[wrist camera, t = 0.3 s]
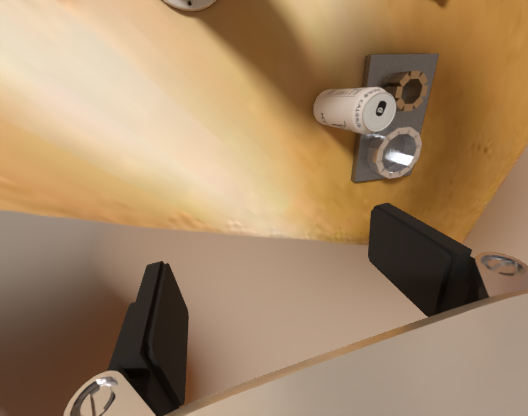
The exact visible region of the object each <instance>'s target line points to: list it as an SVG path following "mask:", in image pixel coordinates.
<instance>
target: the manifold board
mask: <svg viewBox="0 0 528 416" xmlns="http://www.w3.org/2000/svg"><path fill="white" fill-rule="evenodd" d="M438 56H439V54H382V55H368V56H366V59H365V68H364V76H363V84H362V88H366V87H379V88H382V89H384V90H385V91H386V92H387V93H389V94H391V95H392V96H393V97H394V99H395V102H396V112H395V116H394V118H393V120H392V122H391V123H390V124H389V125H388V126H387V127H386V128H385V129H383V130H381V131H377V132H375V133H372V134H361V133H357V134H356V142H355V150H354V158H353V167H352V175H351V180H352V181H354V182H360V181H367V180H375V179H382V178H388V179H390V178H397V177H401V176H405V175H411V172H412V167H413V166H414V164H415V163H416V161H417V160H418V159H419V155H420V151H421V147H422V143H421V139H420V133H421V129H422V124H423V120H424V116H425V112H426V107H427V103H428V99H429V94H430V90H431V86H432V81H433V77H434V73H435V68H436V64H437V60H438Z"/></svg>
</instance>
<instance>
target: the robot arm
mask: <svg viewBox="0 0 528 416" xmlns="http://www.w3.org/2000/svg"><path fill="white" fill-rule="evenodd" d="M163 1H164V2H165V3H167V4H169V5H171V6H173V7H175V8H178V9H181V10H184V11H197V10H202V9H205V8H207V7H209V6H211V5H212V4H213V3H214V2H216V1H217V0H163ZM188 2H191V3H192V5H191V6H190V5H188ZM471 251H472V250H471V249H470V248H468V247H466V246H464V245H462V244H461V243H459V242H457V241H455V240H453V239H452V238H450V237H448V236H446V235H445V234H443V233H441V232H439V231H437V230H436V229H434V228H432V227H430V226H429V225H427V224H425V223H423V222H421V221H420V220H418V219H416V218H414V217H413V216H411V215H409V214H407V213H405V212H404V211H402V210H400V209H398V208H397V207H395V206H393V205H391V204H389V203H384V204H381V205H377V206H375V207H374V209H373V210H372V211H371V219H370V235H369V251H368V257H369V260H370V262H371V263H372V264H373V265H374V266H375V267H376V268H377V269H378V270H379V271H380V272H381V273H382V274H384V275H385V276H386V277H387V278H388V279H389V280H390V281H391V282H392V283H393V284H394V285H395V286H396V287H397V288H398V289H399V290H400V291H401V292H402V293H403V294H404V295H405V296H406V297H407V298H409V299H410V301H412V302H413V303H414V304H415V305H416V306H417V307H418V308H419V309H420V310H421V311H422V312H423V313H424V314H425V315H426V316H428V318H425V319H422V320H419V321H416V322H414V323H410V324H408V325H405V326H402V327H399V328H396V329H393V330H390V331H388V332H384V333H382V334H379V335H376V336H373V337H371V338H367V339H364V340H362V341H359V342H356V343H353V344H350V345H348V346H345V347H342V348H339V349H336V350H334V351H330V352H328V353H325V354H322V355H319V356H317V357H313V358H311V359H308V360H305V361H303V362H300V363H297V364H294V365H291V366H288V367H286V368H283V369H280V370H277V371H274V372H272V373H269V374H266V375H263V376H261V377H258V378H255V379H252V380H250V381H247V382H244V383H241V384H239V385H236V386H234V387H231V388H228V389H225V390H223V391H220V392H218V393H215V394H212V395H210V396H207V397H204V398H202V399H199V400H197V401H195V402H192V403H190V404H188V405H185V406H184V407H181V408H179V406H181V405H183V404H184V401H185V383H186V359H187V340H188V318H189V316H188V310H187V307H186V304H185V302H184V300H183V297H182V295H181V292H180V290H179V287H178V285H177V282H176V280H175V277H174V275H173V273H172V270H171V268H170V266H169V264H168V263H167V264H164V263H163V261H161V262H157V263H152V264H149V265H147V267H146V270H145V273H144V276H143V279H142V283H141V286H140V289H139V292H138V296H137V299H136V302H134V303H131V304H130V305H129V308H128V310H127V313H126V316H125V319H124V323H123V325H122V329H121V331H120V334H119V337H118V340H117V343H116V346H115V349H114V352H113V355H112V358H111V361H110V364H109V367H108V370H107V372H103V373H101V374H99V375H97V376H95V377H93V378H92V379H90V380H89V381H88V382H86V383H85V384H84V385H83V386H82V387H81V388H80V389H79V390H78V391H77V392H76V393H75V395H74V396H73V398H72V399H71V400H70V402H69V404H68V406H67V408H66V410H65V412H64V416H528V266H527V265H526V264H525V263H523V262H522V261H520V260H518V259H516V258H514V257H511V256H508V255H505V254H501V253H496V252H483V253H480V254H478V255H477V256H476V257H475V259H474V258H473V257H471V256H470V254H471Z"/></svg>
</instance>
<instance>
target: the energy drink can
mask: <svg viewBox="0 0 528 416" xmlns="http://www.w3.org/2000/svg"><path fill="white" fill-rule="evenodd" d="M313 112H314V116H315V118H316V120H317V121H318V122H319V123H321V124H323V125H327V126H332V127H336V128H340V129H344V130H348V131H353V132H357V133H361V134H372V133H375V132H377V131H381V130H383V129H385V128H386V127H387V126H388V125H389V124H390V123H391V122H392V120H393V118H394V116H395V112H396V102H395V99H394V97H393V96H392V95H391V94H389V93H387V92H386V91H385V90H384V89H382V88H379V87H366V88H343V89H327V90H325V91H323V92H321V93H320V94H319V95H318V96H317V98H316V100H315V102H314V106H313Z"/></svg>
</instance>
